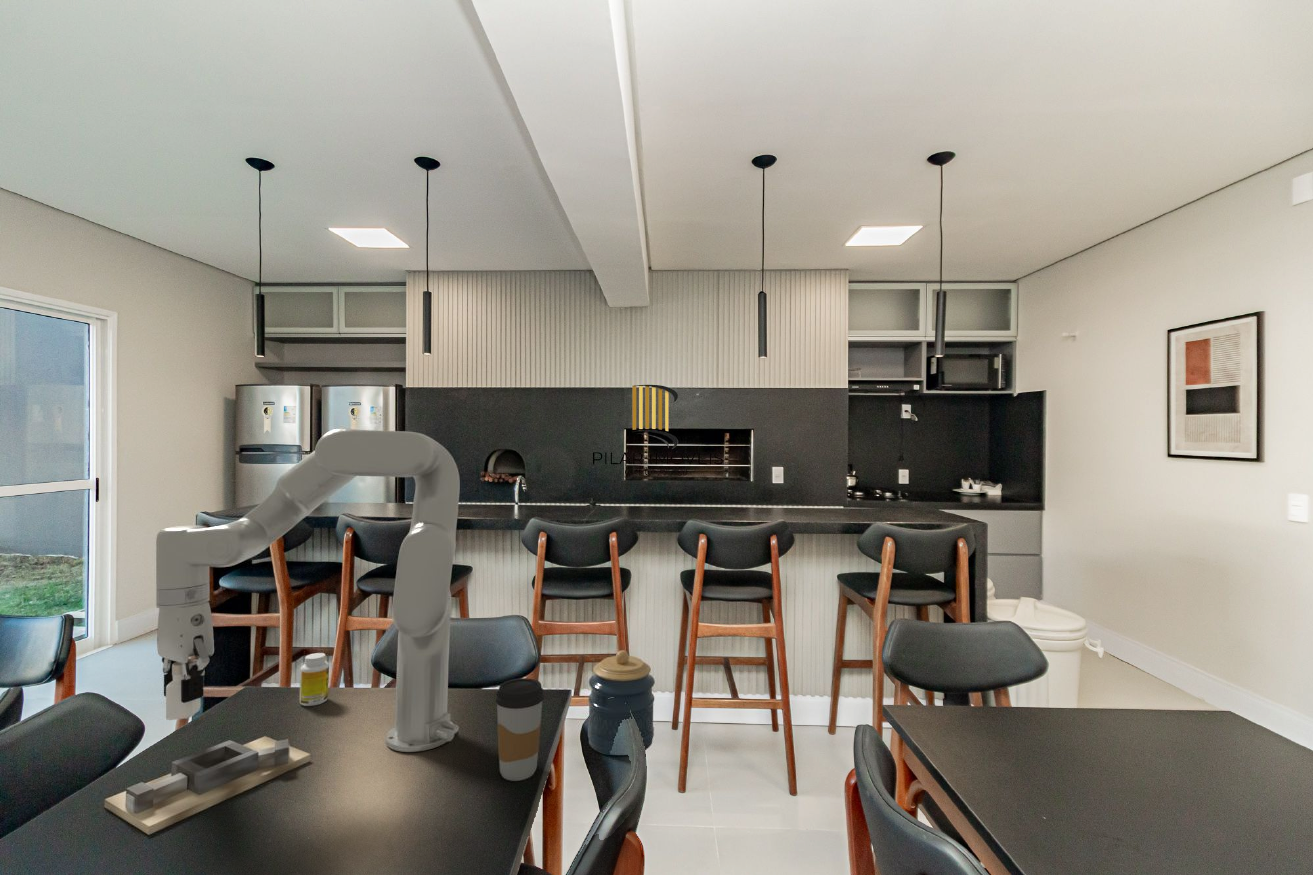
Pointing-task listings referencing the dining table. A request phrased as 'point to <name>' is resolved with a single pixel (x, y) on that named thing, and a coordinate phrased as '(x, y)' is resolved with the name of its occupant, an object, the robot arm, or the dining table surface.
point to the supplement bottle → (314, 680)
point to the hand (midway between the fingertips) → (183, 695)
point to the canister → (620, 700)
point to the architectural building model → (204, 781)
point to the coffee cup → (519, 727)
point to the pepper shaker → (179, 696)
